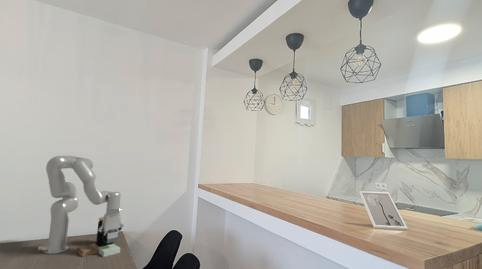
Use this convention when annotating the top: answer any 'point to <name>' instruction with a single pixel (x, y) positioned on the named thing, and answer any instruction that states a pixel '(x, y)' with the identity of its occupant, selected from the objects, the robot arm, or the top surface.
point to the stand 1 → (88, 250)
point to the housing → (111, 236)
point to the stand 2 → (109, 250)
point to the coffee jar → (101, 235)
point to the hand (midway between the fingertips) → (110, 239)
